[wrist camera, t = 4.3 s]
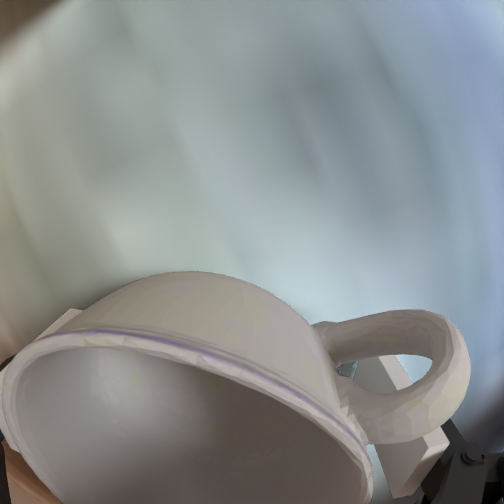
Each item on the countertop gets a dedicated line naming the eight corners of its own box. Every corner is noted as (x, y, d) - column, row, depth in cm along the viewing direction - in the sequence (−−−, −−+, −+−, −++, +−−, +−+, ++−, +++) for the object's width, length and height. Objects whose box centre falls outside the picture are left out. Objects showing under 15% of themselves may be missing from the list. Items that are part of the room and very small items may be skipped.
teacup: (159, 446, 15) (124, 557, 8) (61, 282, 13) (-58, 370, 5) (403, 389, 14) (464, 508, 6) (366, 177, 11) (515, 202, 4)
